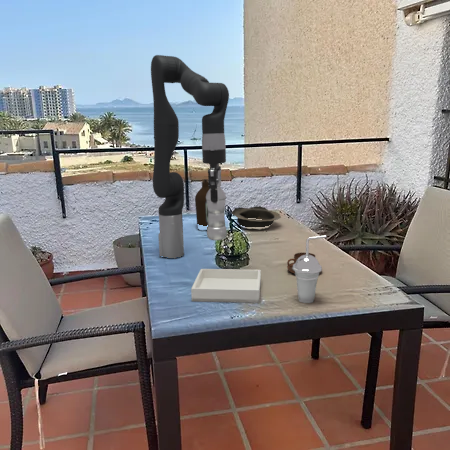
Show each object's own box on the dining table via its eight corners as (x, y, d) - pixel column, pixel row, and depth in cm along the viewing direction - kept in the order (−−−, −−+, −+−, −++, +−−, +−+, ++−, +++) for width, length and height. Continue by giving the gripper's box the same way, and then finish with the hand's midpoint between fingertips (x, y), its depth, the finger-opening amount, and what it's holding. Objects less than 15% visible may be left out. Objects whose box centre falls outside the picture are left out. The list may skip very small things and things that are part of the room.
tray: (191, 301, 128) (191, 288, 127) (201, 280, 145) (200, 268, 144) (259, 303, 126) (259, 290, 125) (260, 281, 143) (260, 269, 142)
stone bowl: (234, 220, 232) (235, 204, 230) (280, 224, 229) (281, 208, 227) (228, 231, 209) (229, 212, 207) (279, 235, 206) (281, 217, 204)
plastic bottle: (206, 238, 147) (204, 179, 142) (226, 237, 147) (224, 178, 143) (207, 242, 141) (205, 181, 136) (228, 241, 141) (226, 181, 137)
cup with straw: (300, 292, 133) (302, 229, 128) (327, 299, 127) (330, 233, 123) (286, 301, 127) (287, 235, 122) (313, 308, 121) (316, 240, 116)
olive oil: (191, 229, 217) (189, 179, 211) (207, 225, 224) (206, 177, 218) (205, 232, 209) (204, 181, 203) (221, 228, 216) (220, 179, 211)
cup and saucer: (301, 280, 144) (301, 262, 142) (280, 270, 154) (280, 253, 153) (329, 274, 149) (329, 257, 147) (307, 264, 159) (307, 248, 158)
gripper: (205, 147, 145) (207, 196, 148) (198, 149, 131) (200, 203, 134) (227, 146, 144) (228, 196, 148) (223, 148, 130) (224, 203, 134)
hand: (215, 199), depth 141 cm, fingers closed on plastic bottle, 6 cm apart
